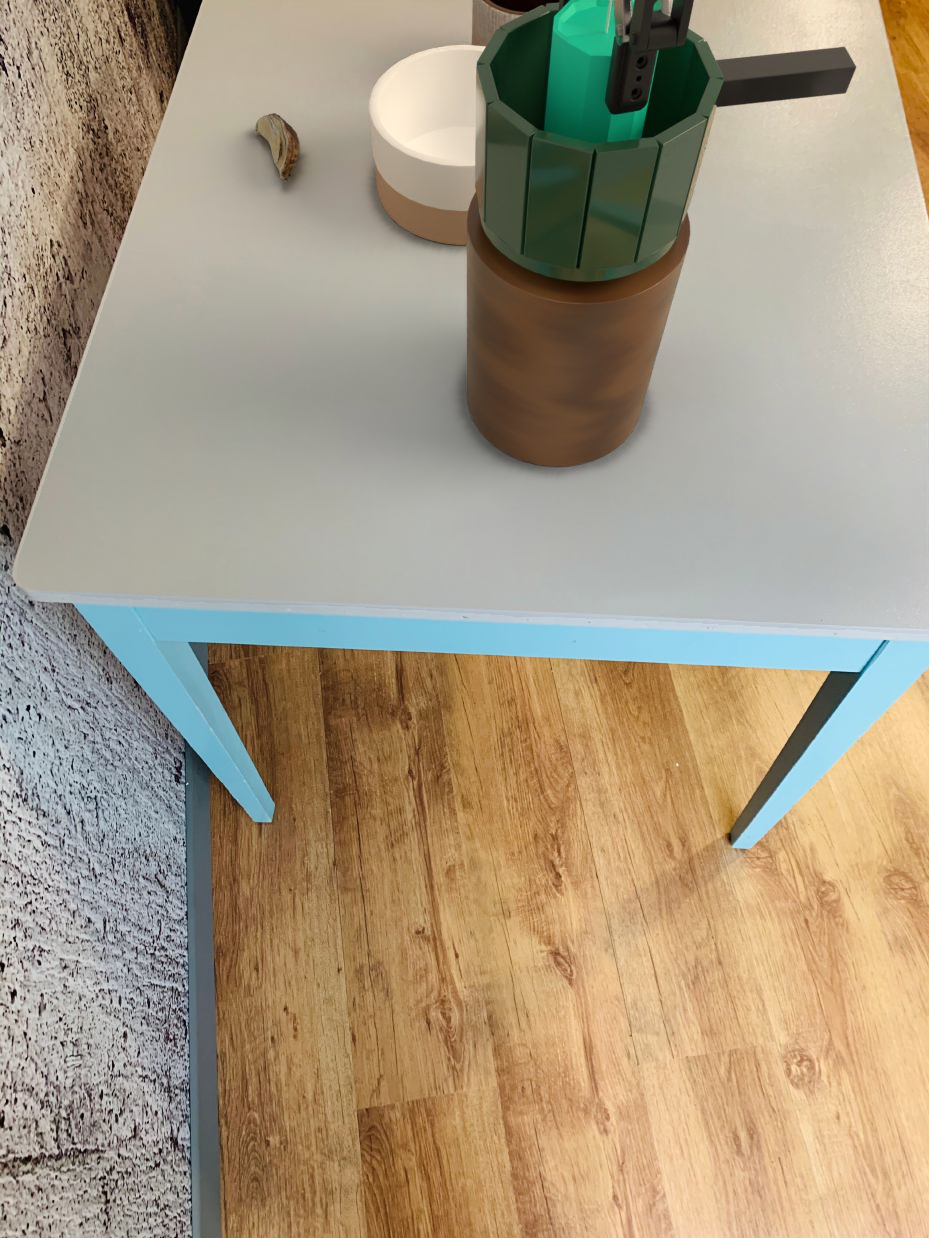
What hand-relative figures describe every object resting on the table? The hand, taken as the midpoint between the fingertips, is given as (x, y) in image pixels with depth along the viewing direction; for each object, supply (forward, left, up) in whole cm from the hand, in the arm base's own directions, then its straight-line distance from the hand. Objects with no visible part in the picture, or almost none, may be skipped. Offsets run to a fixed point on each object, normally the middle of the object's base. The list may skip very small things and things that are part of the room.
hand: (600, 62), depth 48 cm
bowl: (+1, -28, -28) cm, 39 cm away
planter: (-9, -42, -28) cm, 51 cm away
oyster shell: (+18, -36, -28) cm, 49 cm away
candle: (0, 0, -9) cm, 9 cm away
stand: (0, 0, -28) cm, 28 cm away
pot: (-4, 0, -9) cm, 10 cm away
